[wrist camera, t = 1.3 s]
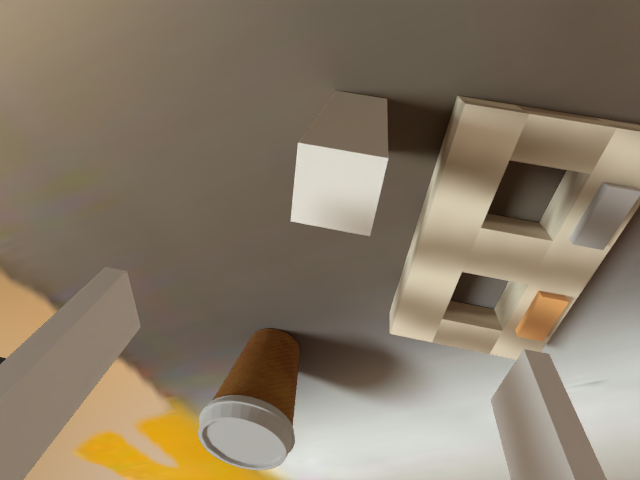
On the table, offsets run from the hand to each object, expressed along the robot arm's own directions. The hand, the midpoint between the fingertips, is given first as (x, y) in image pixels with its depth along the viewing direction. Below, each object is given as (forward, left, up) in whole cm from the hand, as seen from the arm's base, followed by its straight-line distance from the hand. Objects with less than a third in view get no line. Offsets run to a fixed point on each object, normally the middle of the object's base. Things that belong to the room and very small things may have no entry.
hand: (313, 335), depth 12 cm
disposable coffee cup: (+26, -5, -21) cm, 34 cm away
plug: (-2, 0, -21) cm, 21 cm away
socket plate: (+6, +14, -21) cm, 25 cm away
